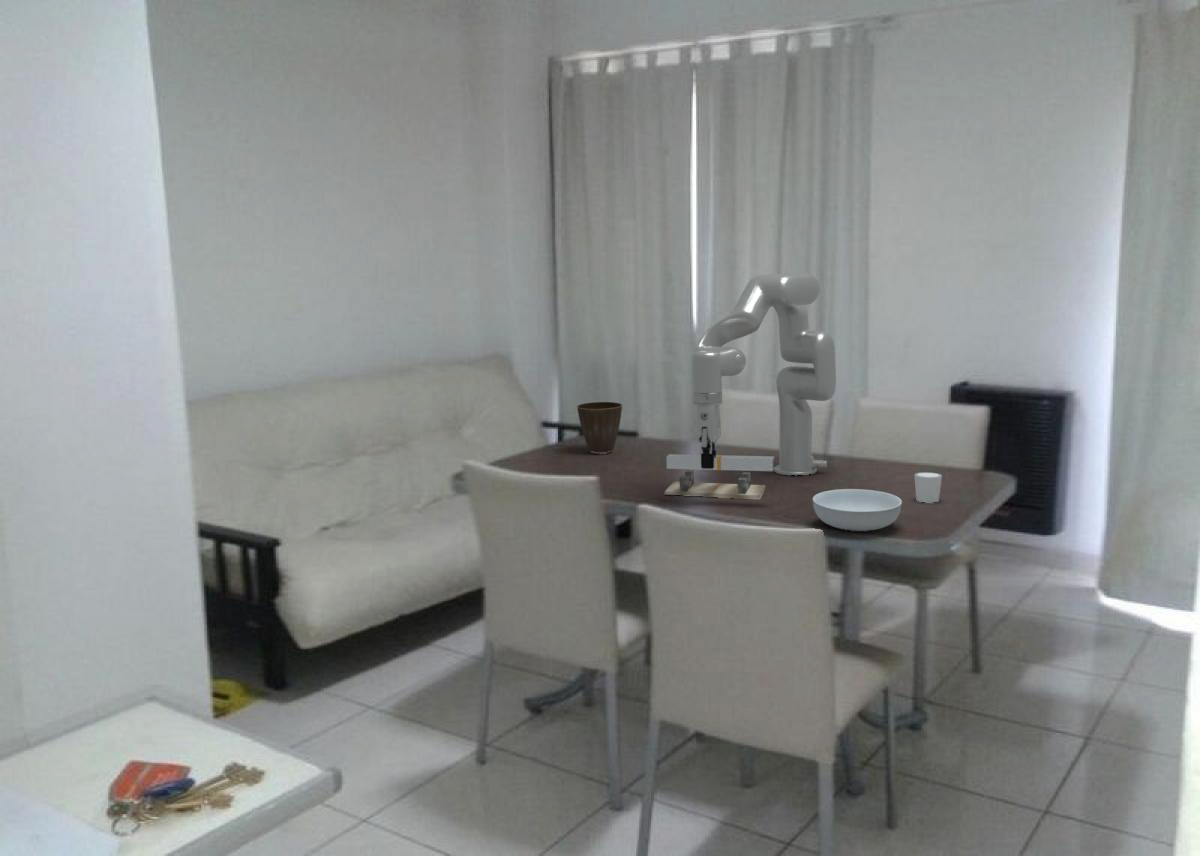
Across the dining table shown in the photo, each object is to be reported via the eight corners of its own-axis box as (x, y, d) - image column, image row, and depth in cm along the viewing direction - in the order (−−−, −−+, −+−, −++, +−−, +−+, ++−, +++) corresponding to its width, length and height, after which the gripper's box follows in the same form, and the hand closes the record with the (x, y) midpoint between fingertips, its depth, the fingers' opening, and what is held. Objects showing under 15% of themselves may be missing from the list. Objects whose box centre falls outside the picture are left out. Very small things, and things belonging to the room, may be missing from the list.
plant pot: (601, 458, 334) (600, 410, 331) (569, 453, 344) (567, 406, 341) (632, 451, 344) (631, 404, 342) (600, 446, 354) (598, 400, 352)
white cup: (919, 496, 275) (920, 470, 274) (945, 499, 271) (946, 473, 270) (909, 501, 270) (910, 475, 269) (935, 505, 266) (935, 478, 264)
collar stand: (765, 489, 287) (765, 471, 286) (759, 499, 276) (759, 481, 275) (673, 485, 294) (673, 468, 293) (664, 495, 283) (664, 477, 282)
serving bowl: (795, 528, 248) (795, 500, 247) (842, 511, 262) (843, 484, 261) (871, 544, 233) (872, 515, 232) (917, 525, 247) (918, 497, 246)
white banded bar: (774, 468, 269) (774, 456, 268) (773, 471, 266) (772, 458, 265) (669, 466, 277) (668, 453, 276) (666, 469, 274) (666, 456, 273)
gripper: (716, 403, 260) (717, 474, 263) (726, 393, 275) (727, 460, 279) (687, 403, 262) (688, 473, 266) (698, 392, 277) (700, 459, 281)
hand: (708, 465), depth 272 cm, fingers closed on white banded bar, 3 cm apart
